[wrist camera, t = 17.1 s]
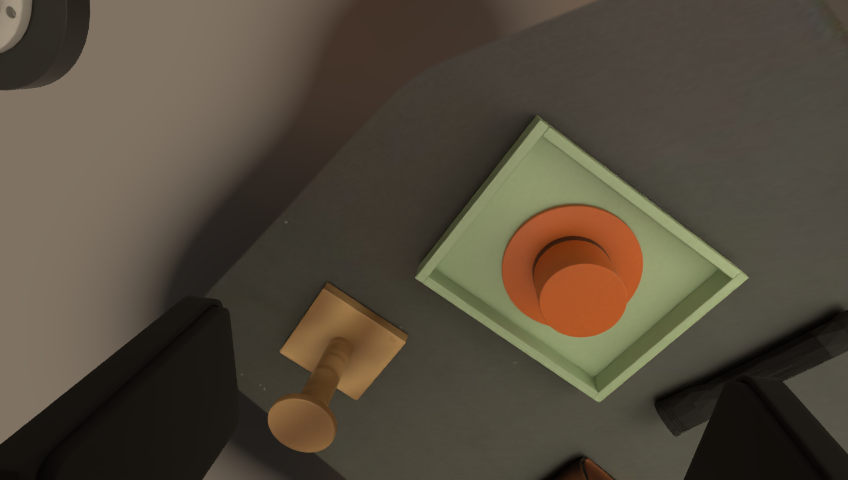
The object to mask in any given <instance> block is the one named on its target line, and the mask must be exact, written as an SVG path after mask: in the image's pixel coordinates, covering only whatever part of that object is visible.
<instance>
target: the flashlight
mask: <svg viewBox="0 0 848 480" xmlns="http://www.w3.org/2000/svg"><path fill="white" fill-rule="evenodd" d="M847 351H848V310H847V311H844V312H842V313H840V314H838V315H836V316H835V317H834V318H833V319H832V320H831V321H830V322H828V323H826V324H824V325H822V326H820V327H818V328H816V329H814V330H812V331H810V332H808V333H806V334H803V335H802V336H800V337H798V338H796V339H794V340H792V341H790V342H788V343H786V344H784V345H782V346H779V347H777V348H776V349H774V350H772V351H770V352H768V353H766V354H764V355H761V356H760V357H757V358H756V359H754V360H751V361H750V362H747V363H745V364H743V365H741V366H739V367H737V368H735V369H733V370H731V371H729V372H727V373H725V374H723V375H721V376H720V377H718V378H716V379H714V380H712V381H710V382H708V383H706V384H704V385H700V386H696V387H693V388H689V389H685V390H684V391H682V392H680V393H677V394H675V395H673V396H671V397H669V398H667V399H664V400H662V401H659V402H657V403H654V406H655V408H656V410H657V412H658V414H659V416H660V417H661V419H662V421H663V422H664V423H665V425H666V426H667V428H668V429H669V430H670V431H671V432H672V434H673V435H675V436H678V435H680V434H681V432H683V433H684V431H687V430H690V429H691V428H693V427H695V426H697V425H699V424H701V423H704V422H706V421H707V420H709V419H710V417H711V415H712V413H713V410H714V408H715V406H716V403H717V401H718V398H719V396H720V394H721V391H722V389H723V387H724V385H725V384H726V383H727V382H730V381H734V380H735V378H737V377H738V376H739V375H750V376H757V377H764V378H771V379H777V380H780V381H782V382H783V381H785V380H787V378H789V377H790V378H791V376H792V377H794V376H796V375H798V374H799V373H802V372H803V371H804V370H805V371H806V369H811V367H812V368H813V367H815V365H817V364H818V365H819V364H820V363H824V362H825V361H828V359H829V360H830V359H832V358H834V357H836V356H838V355H840V354H842V353H845V352H847Z"/></svg>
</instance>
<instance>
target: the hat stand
mask: <svg viewBox="0 0 848 480" xmlns="http://www.w3.org/2000/svg"><path fill="white" fill-rule="evenodd" d="M407 337H408V335H407V334H405V333H404V332H402V331H401V330H399V329H398V328H396V327H395V326H393V325H392V324H390V323H389V322H387V321H386V320H384V319H383V318H381V317H380V316H378V315H376V314H375V313H373V312H372V311H370V310H369V309H367V308H366V307H364V306H363V305H361V304H360V303H358V302H357V301H355V300H354V299H352V298H351V297H349V296H348V295H346V294H345V293H343V292H342V291H340V290H339V289H337V288H335V287H334V286H332V285H331V284H329V283H327V284H326V285H325V286H324V288H323V289H322V291H321V292H320V294H319V295H318V297H317V298H316V299H315V301H314V302H313V304H312V305H311V307H310V308H309V310H308V311H307V313H306V314H305V315H304V317H303V318H302V320H301V321H300V323H299V324H298V326H297V327H296V329H295V330H294V331H293V333H292V334H291V336H290V337H289V339H288V340H287V342H286V343H285V345H284V346H283V348H282V349H281V350H280V353H282V354H283V355H285V356H286V357H288V358H290V359H291V360H293V361H294V362H296V363H297V364H299V365H301V366H302V367H304V368H305V369H307V370H309V371H310V372H312V374H311V376H310V378H309V380H308V381H307V383H306V385H305V387H304V389H303V390H302V392H301V394H299V393H294V394H288V395H285V396H282V397H281V398H279V399H278V400H276V402H275V403H274V404H273V406H272V407H271V409H270V411H269V414H268V424H269V428H270V430H271V432H272V433H273V435H274V436H275V437H276V438H277V439H278V440H279V441H280V442H281V443H283V444H284V445H286V446H288V447H289V448H291V449H294V450H297V451H301V452H317V451H320V450H323V449H325V448H326V447H328V446H329V445H330V444H331V443H332V441H333V439H334V437H335V434H336V431H337V422H336V418H335V416H334V414H333V412H332V411H331V410H330V408H329V407H328V405H329V403H330V401H331V399H332V396H333V394H334V392H335V390H336V388H337V389H339V390H340V391H342V392H344V393H345V394H347V395H348V396H350V397H352V398H353V399H355V400H358V399H359V397H360V396H361V395H362V394H363V393H364V391H365V390H366V389H367V388H368V387H369V386H370V384H371V383H372V382H373V381H374V380H375V378H376V377H377V376H378V375H379V374H380V373H381V371H382V370H383V369H384V368H385V367H386V365H387V364H388V363H389V362H390V361H391V360H392V358H393V357H394V356H395V355H396V354H397V352H398V351H399V350H400V349H401V348H402V347H403V345H404V344H405V343H406V340H407Z"/></svg>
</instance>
